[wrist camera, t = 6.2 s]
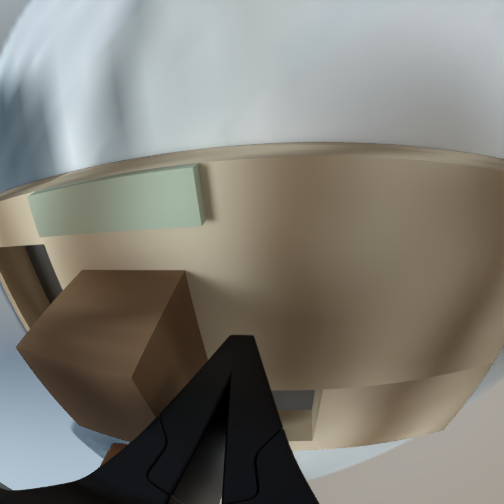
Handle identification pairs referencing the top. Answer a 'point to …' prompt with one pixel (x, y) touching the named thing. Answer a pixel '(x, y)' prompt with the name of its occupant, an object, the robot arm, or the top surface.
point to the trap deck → (297, 268)
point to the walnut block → (117, 347)
